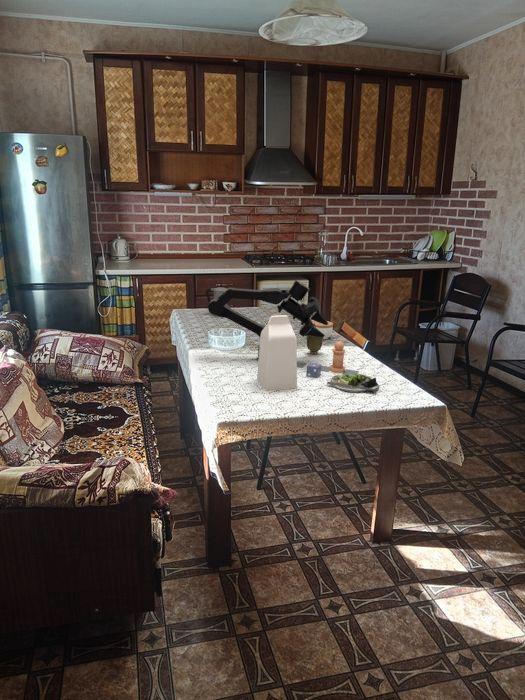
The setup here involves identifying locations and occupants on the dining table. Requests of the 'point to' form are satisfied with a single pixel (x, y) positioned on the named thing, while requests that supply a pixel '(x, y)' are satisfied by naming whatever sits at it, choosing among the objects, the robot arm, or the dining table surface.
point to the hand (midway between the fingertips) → (325, 330)
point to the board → (327, 369)
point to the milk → (277, 355)
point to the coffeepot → (215, 293)
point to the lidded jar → (324, 328)
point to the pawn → (338, 358)
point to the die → (313, 370)
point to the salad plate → (354, 383)
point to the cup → (314, 344)
